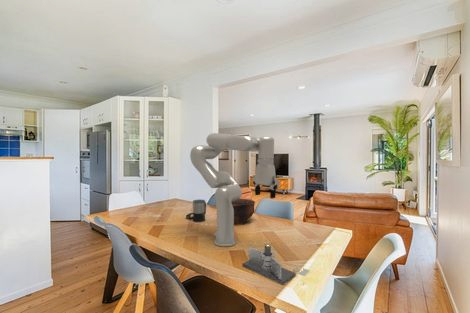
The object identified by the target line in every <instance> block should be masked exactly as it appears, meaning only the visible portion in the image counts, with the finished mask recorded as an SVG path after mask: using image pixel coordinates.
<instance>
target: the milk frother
mask: <svg viewBox="0 0 470 313" xmlns="http://www.w3.org/2000/svg"><path fill="white" fill-rule="evenodd" d="M192 210H193V211H192V212H190V213H188V214H186V215H185V218H186V219H187V220H192V221H193V222H196V223H201V222H205V221H206V213H207V203H206V200H205V199H193V200H192ZM191 215H192V216H191Z"/></svg>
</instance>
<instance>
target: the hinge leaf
mask: <svg viewBox="0 0 470 313" xmlns="http://www.w3.org/2000/svg"><path fill="white" fill-rule="evenodd" d="M261 264H262V265H264V266H271V272H272V273H273V274H274V275H275V276H276V277H277V278H278V279H280V280H281V267H282V263H281V262H279V261H278V260H276V259H274V258H273V257H271V261H264V260H262V259H261Z"/></svg>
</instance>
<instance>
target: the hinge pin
mask: <svg viewBox="0 0 470 313" xmlns="http://www.w3.org/2000/svg"><path fill="white" fill-rule="evenodd" d="M264 251H265V256H271V252H272V244H271V243H268V242H266V243H264Z"/></svg>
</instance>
